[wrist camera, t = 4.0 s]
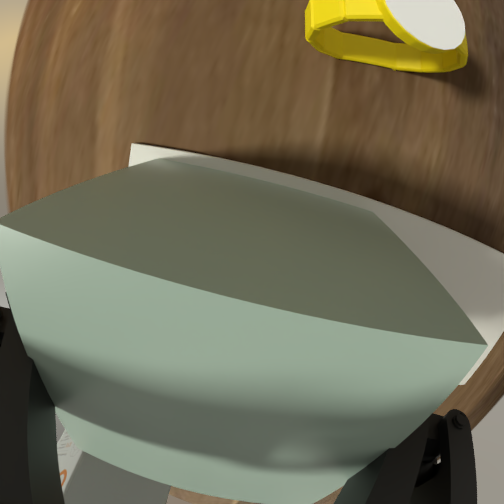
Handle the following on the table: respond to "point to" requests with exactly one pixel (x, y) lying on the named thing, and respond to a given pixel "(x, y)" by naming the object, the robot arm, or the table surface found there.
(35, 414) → the robot arm
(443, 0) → the watch
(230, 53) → the table surface
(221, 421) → the block
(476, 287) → the base
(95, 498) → the small box
